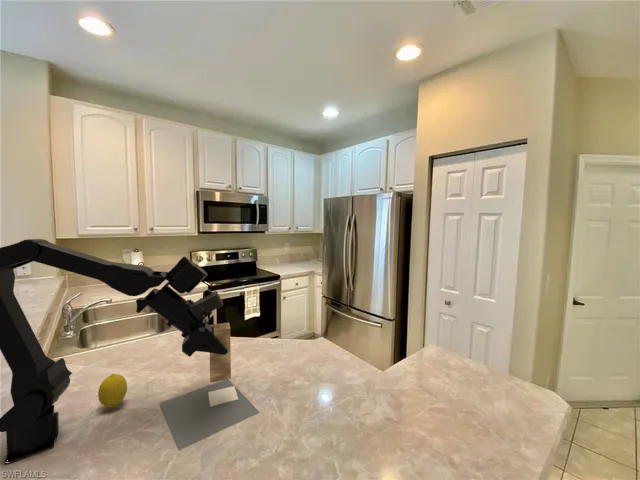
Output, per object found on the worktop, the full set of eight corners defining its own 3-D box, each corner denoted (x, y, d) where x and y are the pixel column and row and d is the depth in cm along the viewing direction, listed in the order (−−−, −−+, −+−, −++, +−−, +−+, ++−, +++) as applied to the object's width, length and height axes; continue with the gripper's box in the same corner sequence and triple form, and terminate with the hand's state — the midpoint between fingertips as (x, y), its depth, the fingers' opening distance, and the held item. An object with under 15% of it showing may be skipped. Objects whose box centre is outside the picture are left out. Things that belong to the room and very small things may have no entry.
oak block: (210, 382, 63) (209, 331, 63) (210, 373, 68) (209, 324, 67) (230, 378, 65) (230, 328, 65) (229, 369, 69) (229, 322, 69)
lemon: (93, 410, 65) (93, 376, 65) (120, 397, 70) (119, 366, 70) (106, 417, 62) (105, 382, 62) (132, 403, 67) (131, 371, 67)
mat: (178, 453, 52) (178, 450, 52) (159, 405, 67) (159, 402, 67) (259, 414, 63) (259, 412, 63) (227, 380, 78) (227, 378, 78)
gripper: (199, 289, 56) (255, 335, 60) (202, 275, 73) (245, 312, 77) (155, 333, 53) (217, 378, 57) (169, 308, 70) (216, 344, 75)
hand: (226, 348), depth 67 cm, fingers closed on oak block, 5 cm apart
